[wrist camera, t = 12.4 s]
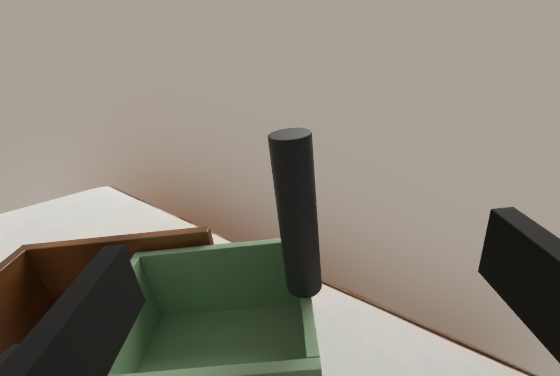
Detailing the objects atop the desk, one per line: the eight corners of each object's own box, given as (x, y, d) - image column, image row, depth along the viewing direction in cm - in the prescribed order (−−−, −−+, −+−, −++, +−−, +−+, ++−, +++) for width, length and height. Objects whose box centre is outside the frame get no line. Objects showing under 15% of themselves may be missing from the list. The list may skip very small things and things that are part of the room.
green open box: (317, 301, 25) (302, 109, 19) (341, 451, 16) (329, 173, 9) (158, 316, 26) (90, 133, 19) (93, 470, 16) (-83, 216, 10)
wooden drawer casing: (227, 300, 27) (209, 225, 23) (191, 493, 15) (147, 398, 12) (61, 315, 27) (22, 244, 24) (-95, 514, 16) (-210, 428, 12)
